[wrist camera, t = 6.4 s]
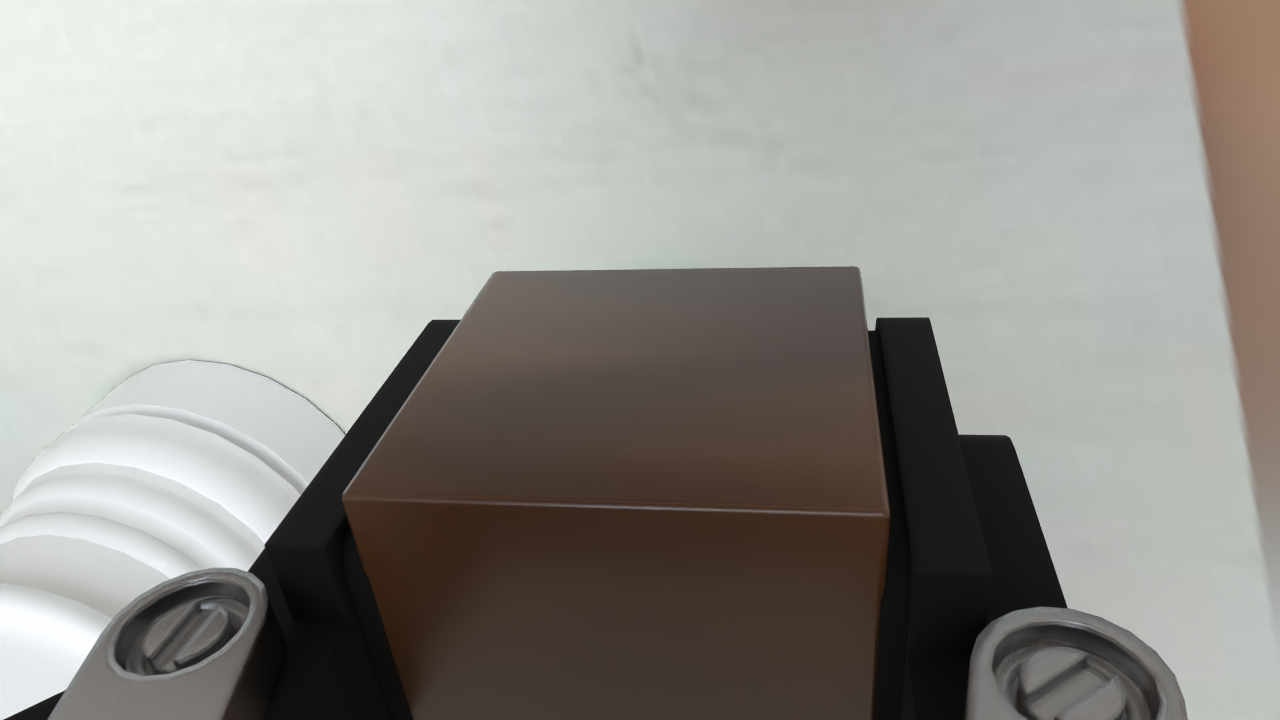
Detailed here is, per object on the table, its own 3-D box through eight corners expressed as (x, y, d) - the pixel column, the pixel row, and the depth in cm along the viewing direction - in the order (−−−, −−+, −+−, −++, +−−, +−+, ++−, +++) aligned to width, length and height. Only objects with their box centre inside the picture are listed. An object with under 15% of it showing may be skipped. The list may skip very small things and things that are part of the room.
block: (860, 264, 9) (891, 512, 6) (849, 554, 11) (868, 865, 8) (492, 268, 10) (335, 495, 7) (542, 542, 12) (441, 824, 9)
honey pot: (280, 326, 35) (-127, 724, 20) (433, 569, 41) (206, 1026, 25) (41, 399, 39) (-449, 777, 24) (210, 611, 45) (-101, 1027, 29)
